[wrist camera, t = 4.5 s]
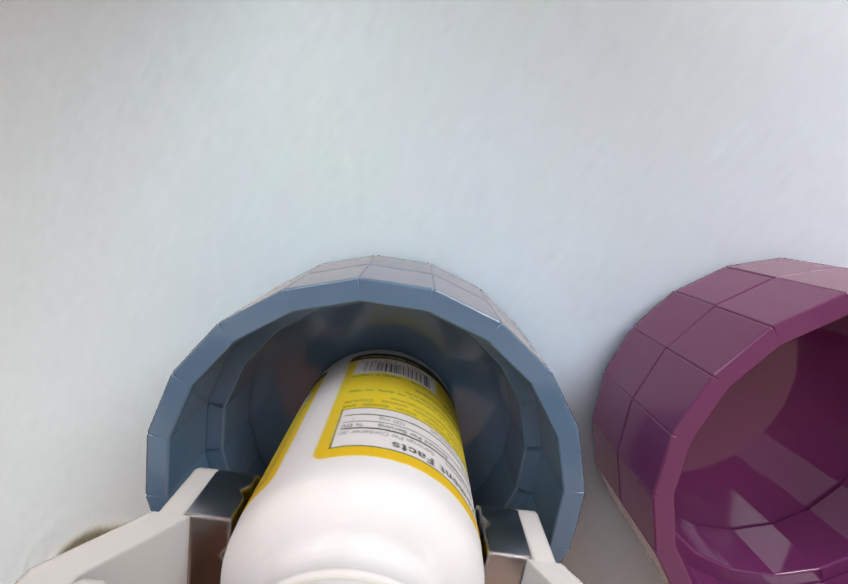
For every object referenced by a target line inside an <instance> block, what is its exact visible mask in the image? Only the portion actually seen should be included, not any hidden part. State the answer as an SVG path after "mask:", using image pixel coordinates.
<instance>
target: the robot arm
mask: <svg viewBox="0 0 848 584" xmlns="http://www.w3.org/2000/svg"><path fill="white" fill-rule="evenodd" d="M260 480H261V478H260V476H258V475H251V474H245V473H238V472H232V471H226V470H218V469H211V468H204V467H199V468H197V469H195V470H194V471H193V472H192V473H191V475H190V476H189V477H188V478H187V479H186V480H185V482H184V483H183V484H182V485H181V486H180V488H179V489H178V490H177V491H176V492H175V494H174V495H173V496H172V497H171V498H170V499H169V501H168V502H167V503H166V504H165V505H164V507H163V508H162V509H161V510H160V511H159V512H156V511H152V512H150V513H148V514H146V515H143V516H141V517H139V518H137V519H135V520H133V521H131V522H128V523H126V524H124V525H122V526H120V527H118V528H116V529H114V530H111V531H109V532H107V533H105V534H103V535H101V536H99V537H97V538H94V539H92V540H90V541H88V542H86V543H84V544H82V545H79V546H77V547H75V548H73V549H71V550H69V551H67V552H65V553H62V554H60V555H58V556H56V557H54V558H52V559H50V560H47V561H45V562H43V563H41V564H39V565H37V566H35V567H33V568H30V569H29V570H28V571H27V572H25V573H24V574H23V575H22V576H21V577H20V578H19V579H18V580H17V581H16V582H15V583H14V584H220V580H221V570H222V564H223V559H224V555H225V552H226V549H227V546H228V543H229V540H230V538H231V536H232V533H233V531H234V529H235V527H236V525H237V523H238V520H239V518H240V516H241V514H242V512H243V510H244V509H245V507H246V505H247V503H248V501H249V500H250V498H251V496H252V494H253V492H254V490H255V489H256V487H257V485H258V484H259V482H260ZM475 515H476V520H477V525H478V530H479V536H480V541H481V548H482V557H483V565H484V575H485V584H583V583H582V582H581V581H580V580H579V579H578V578H577V577H576V576H575V575H574V574H572V573H571V572H570V571H569V570H568V569H567V568H566V567H565V566H564V565H563V564H561V563H556V562H555V559H554V556H553V554H552V551H551V548H550V546H549V543H548V541H547V538H546V535H545V533H544V530H543V527H542V525H541V522H540V520H539V517H538V514H537V513H536V512H535V511H528V510H519V509H515V510H512V509H505V508H497V507H489V506H481V505H476V508H475Z"/></svg>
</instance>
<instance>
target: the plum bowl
mask: <svg viewBox="0 0 848 584" xmlns="http://www.w3.org/2000/svg"><path fill="white" fill-rule="evenodd" d="M592 426H593V438H594V450H595V462H596V465H597V467H598V469H599V471H600V474H601V476H602V478H603V480H604V482H605V484H606V486H607V488H608V490H609V492H610V494H611V497H612V499H613V501H614V502H615V504H616V505H617V507H618V508H619V510H620V512H621V513H622V515H623V516H624V518H625V519H626V521H627V523H628V524H629V526H630V527H631V529H632V530H633V532H634V533H635V535H636V537H637V538H638V540H639V541H640V542H641V544H642V546H643V548H644V549H645V551H646V552H647V554H648V555H649V557H650V558H651V560H652V562H653V563H654V565H655V566H656V568H657V569H658V571H659V573H660V574H661V576H662V577H663V579H664V580H665V582H666V583H667V584H848V268H843V267H837V266H830V265H824V264H818V263H812V262H806V261H799V260H793V259H787V258H775V259H768V260H762V261H756V262H749V263H743V264H736V265H730V266H726V268H722V269H720V270H718V271H716V272H714V273H712V274H709V275H707V276H705V277H703V278H701V279H699V280H697V281H695V282H693V283H690V284H688V285H686V286H684V287H682V288H680V289H678V290H676V292H675V291H673V292H672V293H671V294H670V295H668V296H667V297H666V298H665V299H664V300H663V301H662V302H660V303H659V304H658V305H657V306H656V307H655V308H654V309H652V310H651V311H650V312H649V313H648V314H647V315H646V316H645V317H643V318H642V319H641V320H640V321H639V322H638V323H637V324H635V325H634V326H633V328H632V329H631V330H630V332H629V333H628V335H627V336H626V338H625V339H624V341H623V343H622V344H621V346H620V347H619V349H618V350H617V352H616V354H615V355H614V357H613V358H612V360H611V362H610V363H609V365H608V366H607V368H606V369H605V373H604V375H603V379H602V383H601V386H600V390H599V394H598V398H597V402H596V405H595V409H594V413H593V419H592Z"/></svg>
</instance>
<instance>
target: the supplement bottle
mask: <svg viewBox="0 0 848 584" xmlns="http://www.w3.org/2000/svg"><path fill="white" fill-rule="evenodd" d="M220 584H485V575H484V565H483V557H482V548H481V541H480V536H479V530H478V525H477V520H476V515H475V510H474V505H473V499H472V494H471V487H470V483H469V477H468V472H467V466H466V461H465V456H464V451H463V445H462V439H461V434H460V429H459V423H458V419H457V415H456V410H455V406H454V402H453V400H452V397H451V395H450V392H449V391H448V389H447V387H446V386H445V384H444V383H443V381H442V380H441V378H440V377H439V376H438V375H437V374H436V373H435V371H433V370H432V369H431V368H430V367H429V366H428V365H426V364H425V363H423V362H422V361H420V360H418V359H416V358H414V357H412V356H410V355H407V354H404V353H401V352H397V351H391V350H380V349H378V350H367V351H362V352H358V353H355V354H351V355H349V356H347V357H344V358H342V359H341V360H339V361H337V362H336V363H334V364H333V365H331V366H330V367H329V368H328V369H327V370H326V371H325V372H324V373H323V374H322V375H321V376H320V377H319V378H318V379H317V381H316V382H315V384H314V385H313V387H312V388H311V390H310V391H309V393H308V395H307V397H306V398H305V400H304V402H303V404H302V406H301V407H300V409H299V411H298V413H297V415H296V416H295V418H294V420H293V422H292V424H291V425H290V427H289V429H288V431H287V433H286V435H285V436H284V438H283V440H282V442H281V444H280V446H279V447H278V449H277V451H276V453H275V455H274V456H273V458H272V460H271V462H270V464H269V466H268V467H267V469H266V471H265V473H264V475H263V476H262V478H261V480H260V482H259V484H258V485H257V487H256V489H255V490H254V492H253V494H252V496H251V498H250V500H249V501H248V503H247V505H246V507H245V509H244V510H243V512H242V514H241V516H240V518H239V520H238V523H237V525H236V527H235V529H234V531H233V533H232V536H231V538H230V540H229V543H228V546H227V549H226V552H225V555H224V559H223V564H222V570H221V580H220Z"/></svg>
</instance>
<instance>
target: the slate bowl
mask: <svg viewBox="0 0 848 584" xmlns="http://www.w3.org/2000/svg"><path fill="white" fill-rule="evenodd" d="M378 349H380V350H391V351H397V352H401V353H404V354H407V355H410V356H412V357H414V358H416V359H418V360H420V361H422V362H423V363H425V364H426V365H428V366H429V367H430V368H431V369H432V370H433V371H435V373H436V374H437V375H438V376H439V377H440V378H441V380H442V381H443V383H444V384H445V386H446V387H447V389H448V391H449V392H450V395H451V397H452V400H453V402H454V406H455V410H456V415H457V419H458V423H459V429H460V434H461V439H462V445H463V451H464V456H465V461H466V466H467V472H468V477H469V483H470V487H471V494H472V499H473V505H474V510H475V508H476V505H481V506H489V507H497V508H505V509H512V510H515V509H519V510H528V511H535V512H536V513H537V514H538V517H539V520H540V522H541V525H542V527H543V530H544V533H545V535H546V538H547V541H548V543H549V546H550V548H551V551H552V554H553V556H554V559H555V562H556V563H561V561H562V560H563V558H564V557H565V555H566V554H567V552H568V549H570V546H571V543H572V539H573V535H574V531H575V528H576V524H577V520H578V517H579V513H580V509H581V505H582V502H583V498H584V494H585V493H584V490H585V488H584V477H583V466H582V455H581V444H580V432H579V428H578V426H577V424H576V422H575V420H574V418H573V415H572V413H571V411H570V409H569V407H568V405H567V403H566V401H565V399H564V397H563V394H562V392H561V390H560V388H559V386H558V384H557V382H556V380H555V378H554V376H553V373H552V372H551V371H550V369H549V368H548V367H547V365H546V364H545V363H544V361H543V360H542V359H541V357H540V356H539V355H538V353H537V352H536V351H535V349H534V348H533V347H532V346H531V344H530V343H529V342H528V340H527V339H526V338H525V336H524V335H523V334H522V332H521V331H520V330H519V328H518V327H517V326H516V324H515V323H514V322H513V321H512V320H511V319H510V318H509V317H508V316H507V315H506V314H505V313H504V312H503V311H502V310H501V309H500V308H499V307H498V306H497V305H496V304H495V303H494V302H493V301H492V300H491V299H490V298H489V297H488V296H487V295H486V294H485V293H484V292H483V291H482V290H481V289H479V288H478V287H477V286H475V285H473V284H471V283H469V282H467V281H465V280H463V279H461V278H459V277H457V276H455V275H453V274H451V273H449V272H447V271H445V270H443V269H441V268H439V267H437V266H435V265H433V264H431V265H430V263H425V262H418V261H412V260H406V259H399V258H393V257H386V256H380V255H377V256H374V255H373V256H367V257H361V258H354V259H348V260H342V261H336V262H330V263H324V264H322V265H318V266H316V267H314V268H313V269H311V270H309V271H307V272H305V273H303V274H301V275H299V276H297V277H295V278H293V279H291V280H289V281H288V282H286V283H284V284H282V285H280V286H278V287H276V288H274V289H273V290H271V291H270V292H268V293H266V294H265V295H263V296H261V297H260V298H258V299H256V300H255V301H253V302H251V303H250V304H248V305H247V306H245V307H243V308H242V309H240V310H238V311H237V312H235V313H233V314H232V315H230V316H229V317H227V318H225V319H224V320H222V321H220V323H218V324H217V325H216V326H215V327H214V328H213V329H212V330H211V331H210V332H209V333H208V334H207V335H206V336H205V338H204V339H203V340H202V341H201V342H200V343H199V344H198V345H197V346H196V347H195V348H194V349H193V350H192V351H191V353H190V354H189V355H188V356H187V357H186V358H185V359H184V360H183V361H182V362H181V363H180V364H179V365H178V366H177V368H176V369H175V370H174V371H173V374H171V376H170V378H169V381H168V383H167V386H166V388H165V390H164V393H163V395H162V398H161V400H160V403H159V405H158V408H157V410H156V412H155V415H154V417H153V420H152V422H151V425H150V427H149V429H148V434H147V455H146V494H147V496H146V498H147V501H148V504H149V507H150V510H151V512H152V511H156V512H159V511H160V510H161V509H162V508H163V507H164V505H165V504H166V503H167V502H168V501H169V499H170V498H171V497H172V496H173V495H174V494H175V492H176V491H177V490H178V489H179V488H180V486H181V485H182V484H183V483H184V482H185V480H186V479H187V478H188V477H189V476H190V475H191V473H192V472H193V471H194V470H195V469H197V468H199V467H204V468H211V469H218V470H226V471H232V472H238V473H245V474H251V475H258V476H260V478H262V476H263V475H264V473H265V471H266V469H267V467H268V466H269V464H270V462H271V460H272V458H273V456H274V455H275V453H276V451H277V449H278V447H279V446H280V444H281V442H282V440H283V438H284V436H285V435H286V433H287V431H288V429H289V427H290V425H291V424H292V422H293V420H294V418H295V416H296V415H297V413H298V411H299V409H300V407H301V406H302V404H303V402H304V400H305V398H306V397H307V395H308V393H309V391H310V390H311V388H312V387H313V385H314V384H315V382H316V381H317V379H318V378H319V377H320V376H321V375H322V374H323V373H324V372H325V371H326V370H327V369H328V368H329V367H330V366H331V365H333V364H334V363H336V362H337V361H339V360H341V359H342V358H344V357H347V356H349V355H351V354H355V353H358V352H362V351H367V350H378Z"/></svg>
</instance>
